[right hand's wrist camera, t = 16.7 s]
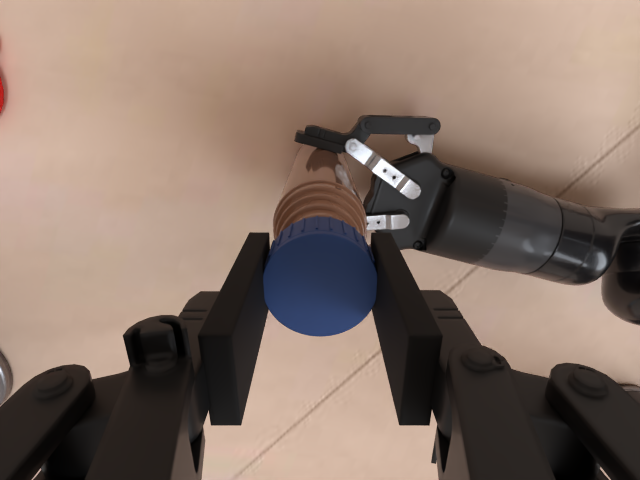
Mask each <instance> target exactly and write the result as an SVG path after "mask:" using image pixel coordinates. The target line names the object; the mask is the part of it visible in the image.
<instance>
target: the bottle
mask: <svg viewBox="0 0 640 480" xmlns="http://www.w3.org/2000/svg"><path fill="white" fill-rule="evenodd" d="M316 216H318V217H332V218H334V219H338V220H340V221H342V220H343V221H345V223H347V224H349V225H350V226H352V227H355V228H356V230H357V231H358V232H359V233H360V234H361V235H362V236H364V237H365V240H366V235H367V217H366V213H365V209H364V207H363V204H362V202H361V199H360V196H359V194H358V191H357V189H356V186H355V183H354V181H353V178H352V176H351V173H350V170H349V168H348V165H347V163H346V160H345V157H344V155H343V152H342V153H341V154H338V153H335V152H331V151H328V150H324V149H320V148H316V147H313V146H309V145H305V144H304V145H303V146H302V147H301V148H300V149H299V151H298V153H297V155H296V158H295V161H294V163H293V166H292V169H291V171H290V174H289V176H288V179H287V182H286V184H285V187H284V189H283V192H282V195H281V197H280V200H279V202H278V205H277V208H276V211H275V214H274V219H273V232H274V239H275V240H276V238H277V237H278V236H279V234H280V231H281V230H282V231H283V230H285V229H286V228H287V227H288V226H290V224H291V223H295V222H297V221H300V220H302V219H303V218H305V219H306V218H310V217H316Z"/></svg>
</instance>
